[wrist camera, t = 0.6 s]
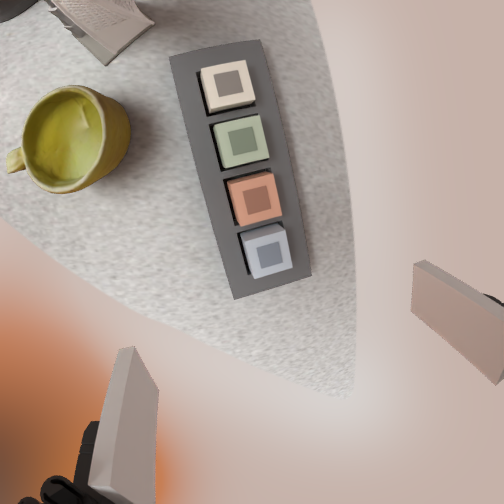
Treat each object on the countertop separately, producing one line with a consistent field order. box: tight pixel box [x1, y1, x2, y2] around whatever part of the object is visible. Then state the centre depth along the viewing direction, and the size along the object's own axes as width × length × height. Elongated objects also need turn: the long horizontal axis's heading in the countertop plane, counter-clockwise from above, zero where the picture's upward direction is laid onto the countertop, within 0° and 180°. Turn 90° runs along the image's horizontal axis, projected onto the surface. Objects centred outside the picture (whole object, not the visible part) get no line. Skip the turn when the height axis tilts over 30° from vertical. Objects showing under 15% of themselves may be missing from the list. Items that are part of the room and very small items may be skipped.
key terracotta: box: [227, 171, 282, 226], centre depth 27 cm, size 4×4×3 cm
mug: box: [6, 85, 131, 194], centre depth 21 cm, size 12×10×10 cm
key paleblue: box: [240, 223, 293, 279], centre depth 29 cm, size 4×4×3 cm
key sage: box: [213, 115, 270, 168], centre depth 25 cm, size 4×4×3 cm
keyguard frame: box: [169, 39, 312, 300], centre depth 28 cm, size 26×9×2 cm, turn 13°
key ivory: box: [200, 60, 256, 114], centre depth 23 cm, size 4×4×3 cm
